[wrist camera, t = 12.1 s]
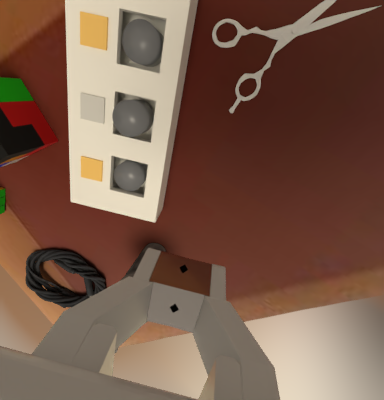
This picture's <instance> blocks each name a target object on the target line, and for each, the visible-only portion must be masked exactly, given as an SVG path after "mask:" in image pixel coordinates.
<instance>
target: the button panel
mask: <svg viewBox="0 0 384 400" xmlns="http://www.w3.org/2000/svg"><path fill="white" fill-rule="evenodd" d="M197 4H198V0H65V11H66V47H67V84H68V121H69V157H70V194H71V202H74V203H78V204H82V205H86V206H90V207H94V208H98V209H102V210H106V211H110V212H114V213H118V214H122V215H126V216H130V217H134V218H138V219H142V220H146V221H151V222H156V220H157V218H158V216H159V215H160V213H161V211H162V209H163V204H164V198H165V192H166V186H167V181H168V175H169V169H170V163H171V157H172V151H173V145H174V139H175V134H176V128H177V122H178V116H179V110H180V104H181V98H182V92H183V86H184V81H185V75H186V69H187V63H188V57H189V51H190V45H191V39H192V34H193V28H194V22H195V16H196V10H197ZM135 19H144V20H146V21H148V22H150V23H151V24H152V25H153V26H154V27H155V28H156V29H157V30H158V31H159V32H160V33H161V34H162V35H163V37H164V42H163V50H162V58H161V63H160V64H158V65H157V66H154V67H147V66H144V65H141V64H138V63H135V62H133V61H132V60H131V59H130V58H129V57H128V56H127V55H126V53H125V51H124V48H123V43H122V36H123V32H124V29H125V27H126V26H127V24H128V23H130V22H131V21H132V20H135ZM133 99H139V100H143V101H145V102H146V103H147V104H149V106H150V107H151V109H152V111H153V114H154V121H153V125H152V127H151V128H150V129H149V130H148V131H146V132H144V133H142V134H140V135H138V136H135V137H128V136H125V135H123V134H121V133H120V132H119V131H118V130H117V129H116V127H115V125H114V123H113V118H112V114H113V110H114V108H115V106H116V105H117V104H118V103H119V102H121V101H123V100H133ZM127 159H128V160H132V161H136V162H140V163H144V164H148V169H147V177H146V181H145V182H144V183H143V184H142V185H141V187H140V188H139V189H137V190H135V191H127V190H124V189H122V188H121V187H119V186H118V184H117V183H116V181H115V178H114V171H115V169H116V167H117V166H118V165H119V164H121V163H122V162H124V161H125V160H127Z"/></svg>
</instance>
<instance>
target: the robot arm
mask: <svg viewBox="0 0 384 400" xmlns="http://www.w3.org/2000/svg"><path fill="white" fill-rule="evenodd" d="M146 321H150V322H154V323H158V324H163V325H167V326H171V327H174V328H178V329H181V330H185V331H188V332H192V333H193V336H194V339H195V341H196V344H197V347H198V349H199V352H200V355H201V358H202V360H203V363H204V366H205V369H206V371H207V374H208V378H207V381H206V383H205V385H204V388H203V390H202V393H201V395H200V397H199V399H194V398H191V397H187V396H183V395H179V394H176V393H172V392H168V391H165V390H161V389H157V388H153V387H149V386H146V385H142V384H139V383H135V382H131V381H127V380H124V379H120V378H116V377H113V376H112V373H113V364H114V354H115V350H116V349H117V348H118V347H119V346H120V345H121V344H122V343H124V342H125V341H126V340H127V339H128V338H129V337H130V336H131V335H132V334H133V333H135V332H136V331H137V330H138V329H139V328H140V327H141V326H142V325H143V324H144V323H146ZM0 400H280V397H279V391H278V386H277V380H276V375H275V369H274V367H273V365H272V364H271V362H270V361H269V359H268V358H267V356H266V355H265V354H264V352H263V350H262V349H261V347H260V346H259V345H258V343H257V342H256V340H255V339H254V337H253V336H252V334H251V333H250V331H249V330H248V328H247V327H246V325H245V324H244V322H243V321H242V319H241V318H240V316H239V315H238V313H237V312H236V310H235V309H234V308H233V306H232V305H231V303H230V302H227V301H226V269H225V267H224V266H219V265H215V264H209V263H205V262H201V261H197V260H193V259H189V258H185V257H182V256H178V255H174V254H171V253H167V252H164V251H159V250H156V249H152V248H148V249H147V250H146V252H145V254H144V256H143V258H142V260H141V262H140V264H139V266H138V268H137V270H136V272H135V274H134V276H133V277H130V276H128V277H127V278H125V279H123V280H121V281H119V282H117V283H116V284H114V285H112V286H110V287H108V288H106V289H104V290H103V291H101V292H99V293H97V294H95V295H93V296H92V297H90V298H88V299H86V300H84V301H82V302H81V303H79V304H77V305H75V306H73V307H71V308H69V309H68V310H66V311H64V312H63V313H62V314H61V316H60V317H59V318H58V320H57V321H56V322H55V324H54V325H53V327H52V328H51V329H50V331H49V332H48V333H47V335H46V336H45V337H44V339H43V340H42V341H41V343H40V344H39V345H38V347H37V348H36V349H35V351H34V352H33V353H32V355H31V354H27V353H23V352H20V351H16V350H12V349H9V348H5V347H1V346H0Z"/></svg>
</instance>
